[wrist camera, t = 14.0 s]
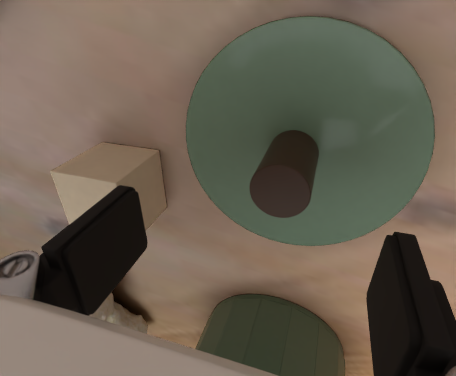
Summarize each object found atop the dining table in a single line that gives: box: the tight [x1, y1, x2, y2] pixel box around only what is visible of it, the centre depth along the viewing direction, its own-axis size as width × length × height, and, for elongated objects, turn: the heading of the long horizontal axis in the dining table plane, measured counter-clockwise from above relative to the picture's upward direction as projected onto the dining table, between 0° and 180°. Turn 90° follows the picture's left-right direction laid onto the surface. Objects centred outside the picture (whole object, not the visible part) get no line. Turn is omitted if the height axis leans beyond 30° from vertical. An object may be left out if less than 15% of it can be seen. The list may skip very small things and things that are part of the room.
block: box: [50, 142, 167, 231], centre depth 21 cm, size 5×5×5 cm
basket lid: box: [186, 16, 435, 246], centre depth 16 cm, size 14×14×6 cm
